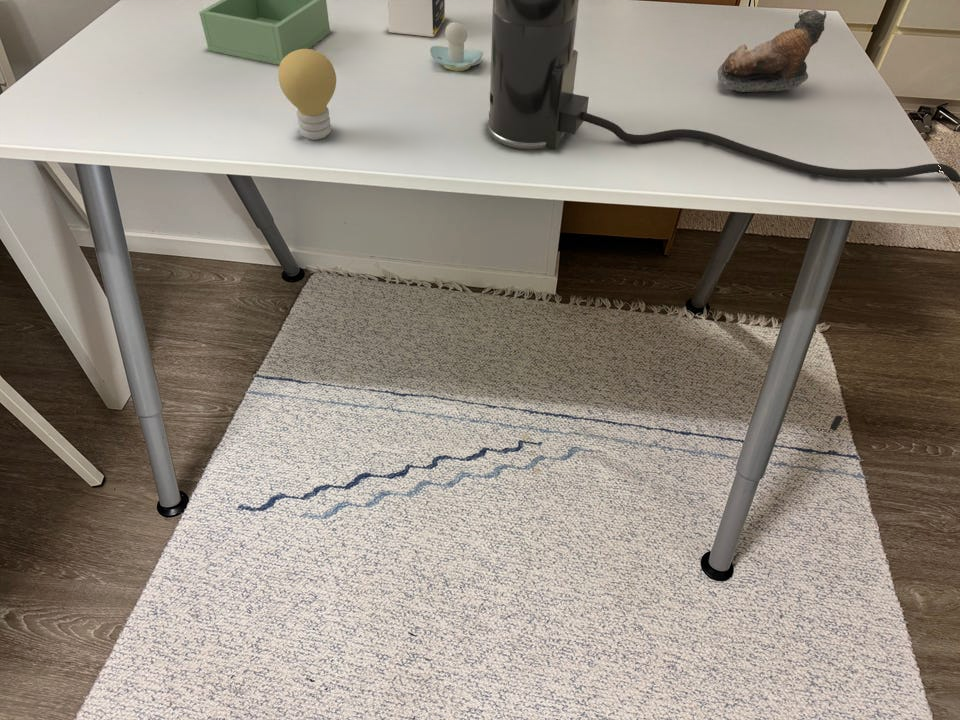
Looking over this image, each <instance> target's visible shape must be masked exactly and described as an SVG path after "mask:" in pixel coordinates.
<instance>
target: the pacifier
mask: <svg viewBox="0 0 960 720" xmlns="http://www.w3.org/2000/svg"><path fill="white" fill-rule="evenodd" d="M444 32H445V33H444V35H445V38H446V40H447V42H448V46H447V47H446V46H442V45H434V46H431V47H430V48H429V54H430V56H431V58H432V59H433V61H435V62H436V63H438V64H439V65H442V66H443V67H444V68H445V69H447V70H451V71H456V72H459V71H460V72H461V71H466V70H469V69H470V68H471V67H473V66H477V65H479V64H481V63H482V62H483V59H482V57H483V55H484V51H483V50H481V49H480V50H478V49H465V43H466V41H467V39H468V31H467V29H466V27H465V26H464V25H463V24H461V23H460V22H457V21H455V22H454V21H453V22H450V23H448V24H447V26H446V27H445V31H444Z"/></svg>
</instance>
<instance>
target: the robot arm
mask: <svg viewBox="0 0 960 720" xmlns="http://www.w3.org/2000/svg"><path fill="white" fill-rule="evenodd" d="M579 2H580V0H492V19H491V50H490V54H491V55H490V81H489V83H490V84H489V85H490V86H489V110H488V122H487V131H488V134H489V135H490V137H491V138H492V139H493V140H494V141H496V142H497V143H500V144H501V145H503V146H507V147H509V148H514V149H520V150H540V149H550V150H555V149H556V148H557V147H558V145H560V142H562V140H563V139H564V137H565V134H568V135H569V134H570V135H576V134H577V132H578V130H579V128H580V127H581V126H582V124H583V122H586V123H588V124H591V125H595V126H598V127H600V128H603V129H605V130H607V131H609V132H610V133H613V135H615V137H617V138H618V139H620V140H621V141H623V142H626V143H630V144H649V143H654V142H655V143H656V142H661V141H664V140H670V139H671V140H672V139H683V138H684V139H692V140H693V139H694V140H699V141H705V142H708V143H711V144H715V145H717V146H721V147H723V148H725V149H728V150H730V151H734V152H737V153H739V154H742V155H745V156H748V157H751V158H755V159H758V160H762V161H764V162H767V163H770V164H774V165H777V166H780V167H784V168H786V169H789V170H793V171H797V172H801V173H805V174H808V175H815V176H819V177H827V178H832V179H833V178H834V179H835V178H836V179H850V180H851V179H853V180H855V179H856V180H857V179H899V178H906V177H907V178H908V177H912V176H913V177H914V176H918V175H924V174H931V173H932V174H935V173H934V172H938V173H937V174H942V175H944V174H945V175H944V176H946V177H947V179H949V180H950V182H954V183H960V174H959V172H958V171H957V170H956V169H954V168H953V167H952V166H949V165H948V164H945V163H926V164H920V165H914V166H909V167H901V168H865V169H864V168H863V169H856V168H855V169H849V168H848V169H847V168H834V167H827V166H819V165H814V164H810V163H805V162H801V161H798V160H795V159H791V158H788V157H784V156H781V155H778V154H776V153H772V152H769V151H766V150H763V149H759V148H755V147H752V146H749V145H746V144H743V143H740V142H737V141H734V140H732V139H729V138H726V137H724V136H721V135H718V134H714V133H711V132H707V131H703V130H702V131H701V130H697V129H689V128H688V129H687V128H677V129H668V130H663V131H659V132H653V133H648V134H633V133H628V132H626V131H625V130H624V129H623V128H621V126H619V125H618V124H616V123H615V122H613V121H610V120H609V119H605V118H603V117H600V116H597V115H594V114H591V113H588V108H589V107H588V106H589V101H590V100H589V98H590V97H589V96H586V95H581V94H576V93H574V89H575V81H576V80H575V79H576V72H577V63H578V55H579V53H578V51H577V50H576V49H574V46H575V38H576V37H575V36H576V29H577V18H578V9H579ZM938 165H939V166H940V167H941V169H940V167H939V166H938ZM939 170H940V171H943V172H944V174H943V173H940V172H939ZM843 419H844V416H841V415H835V417H834V419H833V421H832V422H831V424H830V426H829V428H830V430H832V431H836V430H838V428H839V426H840V424H841V422H842V421H843Z"/></svg>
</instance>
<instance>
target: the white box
mask: <svg viewBox="0 0 960 720" xmlns="http://www.w3.org/2000/svg"><path fill="white" fill-rule="evenodd" d="M445 3H446V2H445V0H386V11H387V12H386V13H387V27H388V32H389V33H390V34H401V35H411V36H420V37H429V38H432V37H435V36H436V34H437V33H438V31H439V30H440V27H441V26H442V25H443V23H444V21H445V19H446V11H445V10H446V6H445Z"/></svg>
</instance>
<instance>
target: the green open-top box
mask: <svg viewBox="0 0 960 720" xmlns="http://www.w3.org/2000/svg"><path fill="white" fill-rule="evenodd" d="M198 12H199V17H200V21H201V26H202V29H203V30H202V31H203V33H204V38H205V41H206V47H207V51H209V52H214V53H219V54H222V55H223V54H224V55H229V56H233V57H238V58H242V59H248V60H252V61H253V60H254V61H257V62H258V61H259V62H263V63H267V64H272V65H277V66H280V63H281V61H282V60H283V58H284V57H285V56H287V55H288V54H289V53H291V52H293V51H296V50H299V49H311V48H312V47H313V46H315V45H316V44H317V43H318V42H321V40H323V39H324V38H326V37H327V36H328V35H330V34H331V28H330V20H329V13H328V12H329V10H328V4H327V0H217V2H214V3H213V4H210V5H209V6H207V7H206V8H204V9H202V10H200V11H198Z"/></svg>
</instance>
